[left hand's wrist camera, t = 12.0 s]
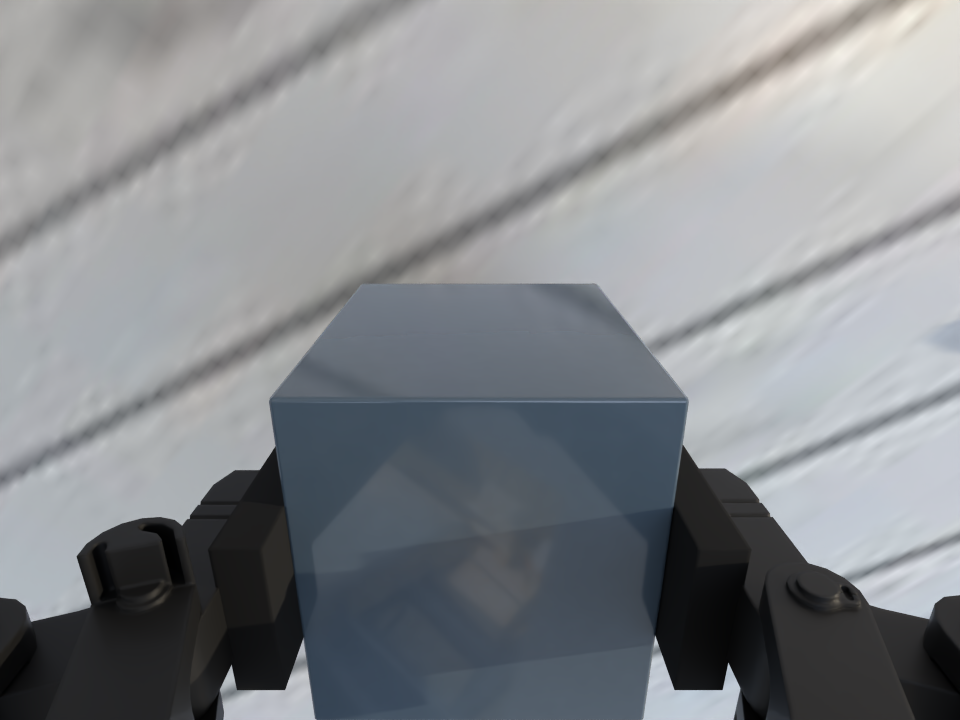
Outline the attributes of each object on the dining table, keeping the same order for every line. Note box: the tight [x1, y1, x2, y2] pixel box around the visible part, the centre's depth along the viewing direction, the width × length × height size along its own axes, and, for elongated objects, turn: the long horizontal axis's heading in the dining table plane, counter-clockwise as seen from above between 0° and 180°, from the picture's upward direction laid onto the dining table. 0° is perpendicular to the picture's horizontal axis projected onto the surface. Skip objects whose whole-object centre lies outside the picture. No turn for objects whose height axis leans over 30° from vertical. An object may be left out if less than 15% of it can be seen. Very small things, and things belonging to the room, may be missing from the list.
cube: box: [269, 284, 689, 720], centre depth 13 cm, size 7×6×7 cm
